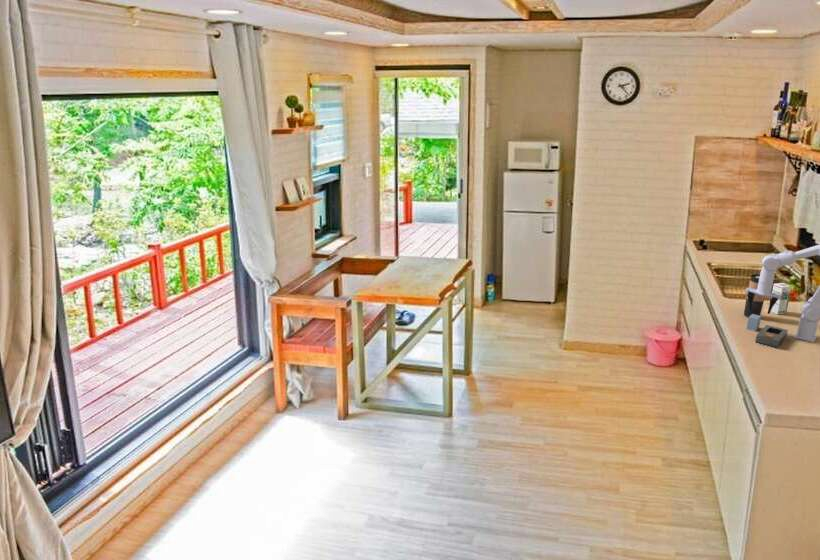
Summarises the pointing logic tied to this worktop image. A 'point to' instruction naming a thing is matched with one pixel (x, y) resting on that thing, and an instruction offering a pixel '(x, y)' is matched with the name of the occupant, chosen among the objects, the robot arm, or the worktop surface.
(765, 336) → the grey slotted block
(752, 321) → the plug
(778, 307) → the syrup box
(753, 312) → the travel mug
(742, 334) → the worktop surface
